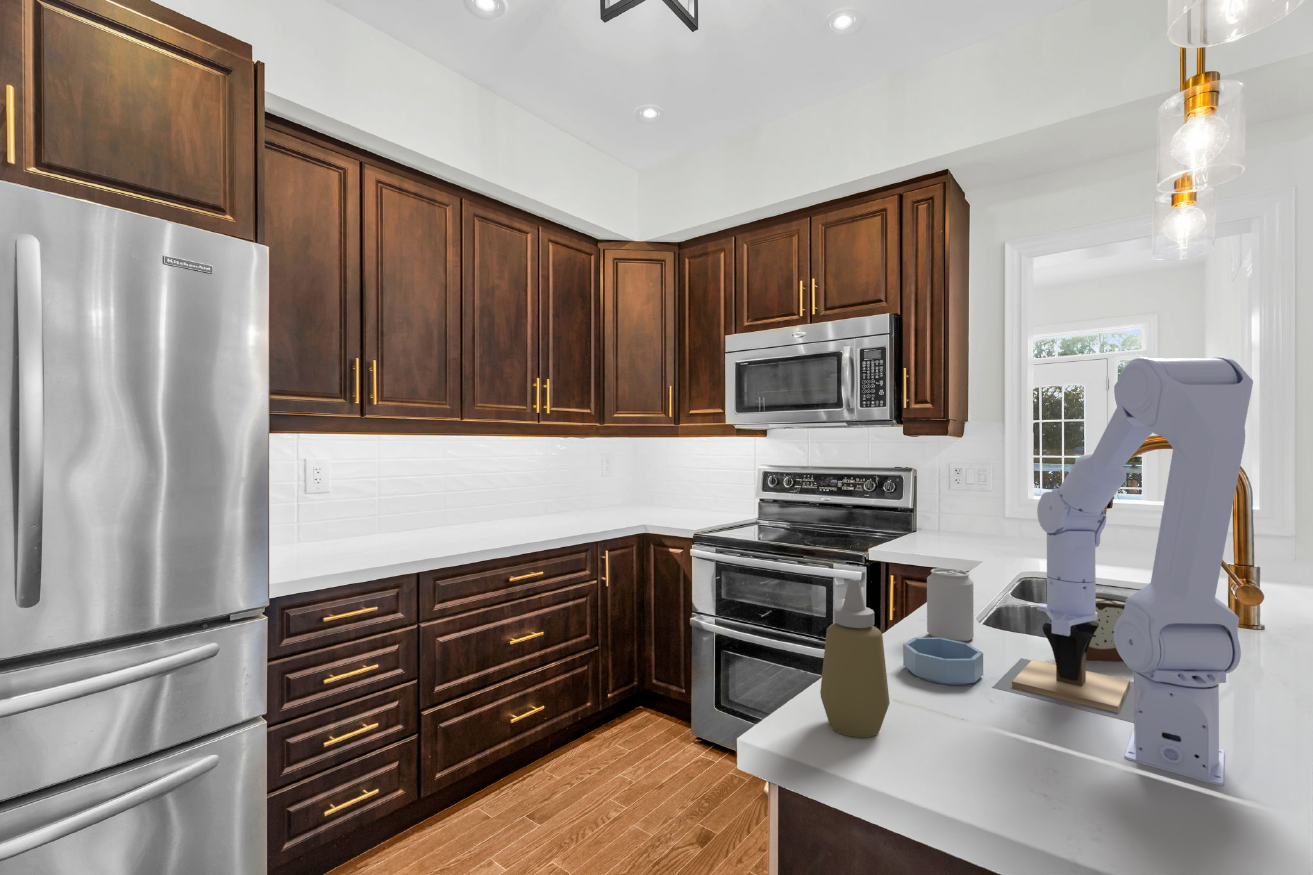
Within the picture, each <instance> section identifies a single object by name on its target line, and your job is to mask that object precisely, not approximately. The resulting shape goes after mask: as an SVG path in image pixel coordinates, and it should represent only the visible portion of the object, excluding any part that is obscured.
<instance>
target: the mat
mask: <svg viewBox="0 0 1313 875" xmlns="http://www.w3.org/2000/svg"><path fill="white" fill-rule="evenodd" d="M1031 660H1032V659H1027V658H1020V659H1018V661H1017V662H1015V664H1014V665H1012V667H1010V669H1008V671H1007V672H1006V673H1005V674H1004V675H1003V676H1002V677H1001V678H1000V679H999V680H998V681H997V682H995V684H994V685H993V686H992V687H991V688H992V689H995V690H1001V691H1004V692H1009V693H1012V694H1017V695H1019V696H1025V697H1029V698H1031V699H1036V700H1039V701H1040V700H1041V701H1044V702H1048V703H1053V704H1057V705H1060V706H1065V707H1069V708H1074V709H1077V710H1081V711H1085V712H1089V713H1092V714H1097V715H1101V716H1105V717H1108V718H1109V717H1110V718H1113V719H1117V720H1120V721H1125V722H1128V723H1133V724H1134V681H1131V680H1130V687H1129V689H1128V691H1127V693H1126V696H1125V698H1124V700H1123V703H1122V705H1121V707H1120V710H1119V712H1118V713H1117V712H1112V711H1108V710H1104V709H1100V708H1096V707H1092V706H1088V705H1084V704H1079V703H1075V702H1071V701H1067V700H1063V699H1059V698H1055V697H1051V696H1047V695H1042V694H1038V693H1034V692H1030V691H1026V690H1022V689H1018V688H1014V687H1012V681H1013V680H1014V679H1015V678H1016V677H1017V675H1018V674H1019V673H1020V672H1021V671H1022V670H1023V669H1024V668H1025V667H1026V666H1027V665H1028V664H1029V663H1030V662H1031Z"/></svg>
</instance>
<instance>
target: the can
mask: <svg viewBox="0 0 1313 875" xmlns="http://www.w3.org/2000/svg"><path fill="white" fill-rule="evenodd" d="M930 572H931V574H930V575H928V576H927V577H926V633H928V634H929V635H930V636H931V638H944V639H949V640H954V641H958V642H963V643H967V642H969V641H971V640H972V639H973V638H974V635H975V634H974V632H975V630H974V629H975V628H974V622H975V621H974V581H973V580H972V578H970V577H969V576H970V572H968V571H966V570H962V569H958V568H957V569H956V568H942V567H941V568H932V569H931V570H930Z"/></svg>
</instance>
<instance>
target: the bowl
mask: <svg viewBox="0 0 1313 875" xmlns="http://www.w3.org/2000/svg"><path fill="white" fill-rule="evenodd" d="M902 646H903V647H902V652H903V653H902V656H903V658H902V661H903V662H902V663H903V664H902V665H903V667H904V668H906V669H908V670H909V672H910V673H912V675H914V676H916V677H917V678H920V679H922V680H925V681H928V682H932V683H935V684H942V685H949V686H964V685H965V686H966V685H970V684H971V685H972V684H974V683H977V681H978V680H979V679H980V678H981V677H982V676H983V675H984V653H983V652H982V651H981V650H980V649H978V648H976V647H974V646H973V645H971V644H970V643H967V642H958V641H954V640H949V639H944V638H933V637H913V638H911V639H910V640H908V641H906V642H904V643H903V644H902Z"/></svg>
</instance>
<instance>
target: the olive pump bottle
mask: <svg viewBox="0 0 1313 875" xmlns="http://www.w3.org/2000/svg"><path fill="white" fill-rule="evenodd" d="M860 582H861V581H860V579H858V578H849V579H848V582H847V583H848V584H847V587H846V592H845V596H844V601H843V604H841V605H837V606H835V607H834V614H833V615H834V622H833V623H832V624H830V625H829V626H828V627H826V633H825V642H824V643H825V644H824V652H823V660H822V661H823V664H822V672H821V682H820V683H821V684H820V691H819V692H820V699H821V702H822V705H823V708H824V710H825V714H826V715H825V716H826V718H827V721H828V724H829V726H830V727H831V728H832V729H833V730H834V731H836V732H838V733H840V734H841V735H845V736H848V737H854V738H868V737H869V738H871V737H874V736H877V734H879V732H880V731H881V728H882V725H883V724H884V720H885V717H886V714H887V711H888V708H889V706H890V704H891V703H890V694H889V686H888V685H889V684H888V675H887V674H888V673H887V668H886V667H887V666H886V657H885V648H884V636H883V634H882V631H881V630H880V629H879V628H878V627H877V626H874V625H875V611H874V609H871V608H870V607H867V606H865V602H864V597H863V592H862V587H861V583H860Z"/></svg>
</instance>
